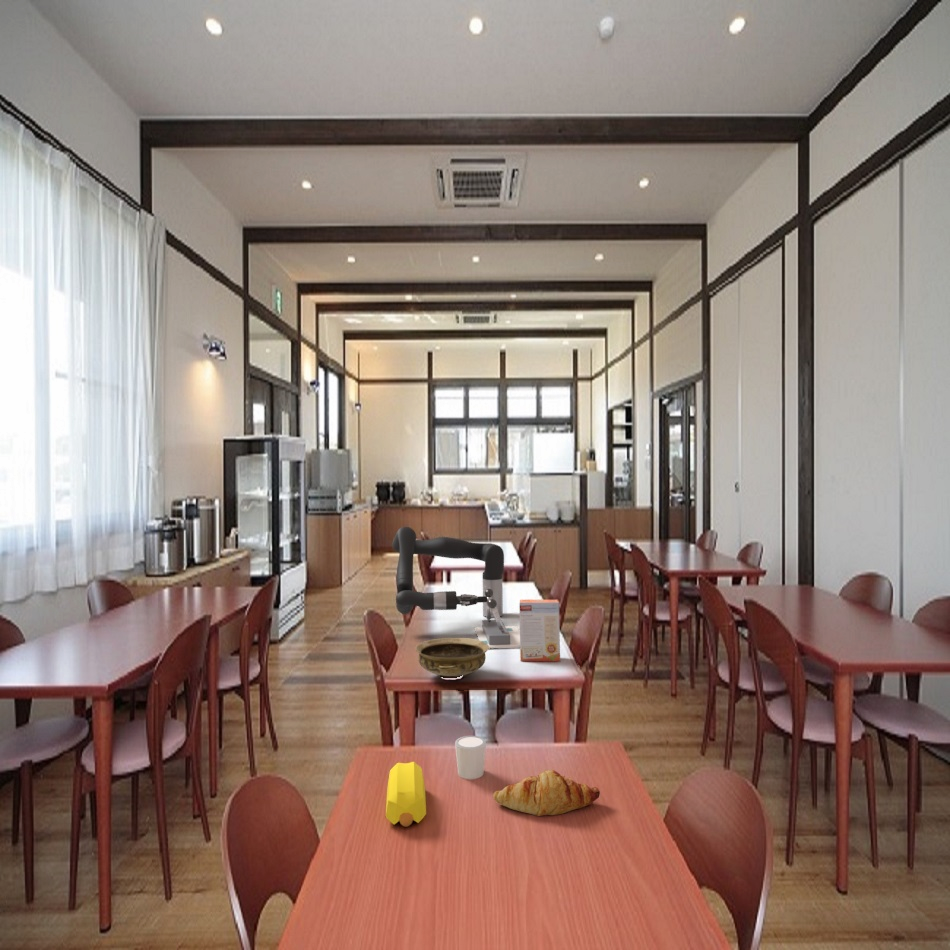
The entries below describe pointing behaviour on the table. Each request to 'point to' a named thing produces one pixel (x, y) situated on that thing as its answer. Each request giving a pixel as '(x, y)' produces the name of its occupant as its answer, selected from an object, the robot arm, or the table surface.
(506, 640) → the switch unit
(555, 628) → the cracker box
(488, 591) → the lever inner
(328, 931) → the table surface
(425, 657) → the ceramic bowl
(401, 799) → the yellow faceted prism
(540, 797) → the croissant
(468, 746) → the shot glass
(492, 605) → the lever outer
